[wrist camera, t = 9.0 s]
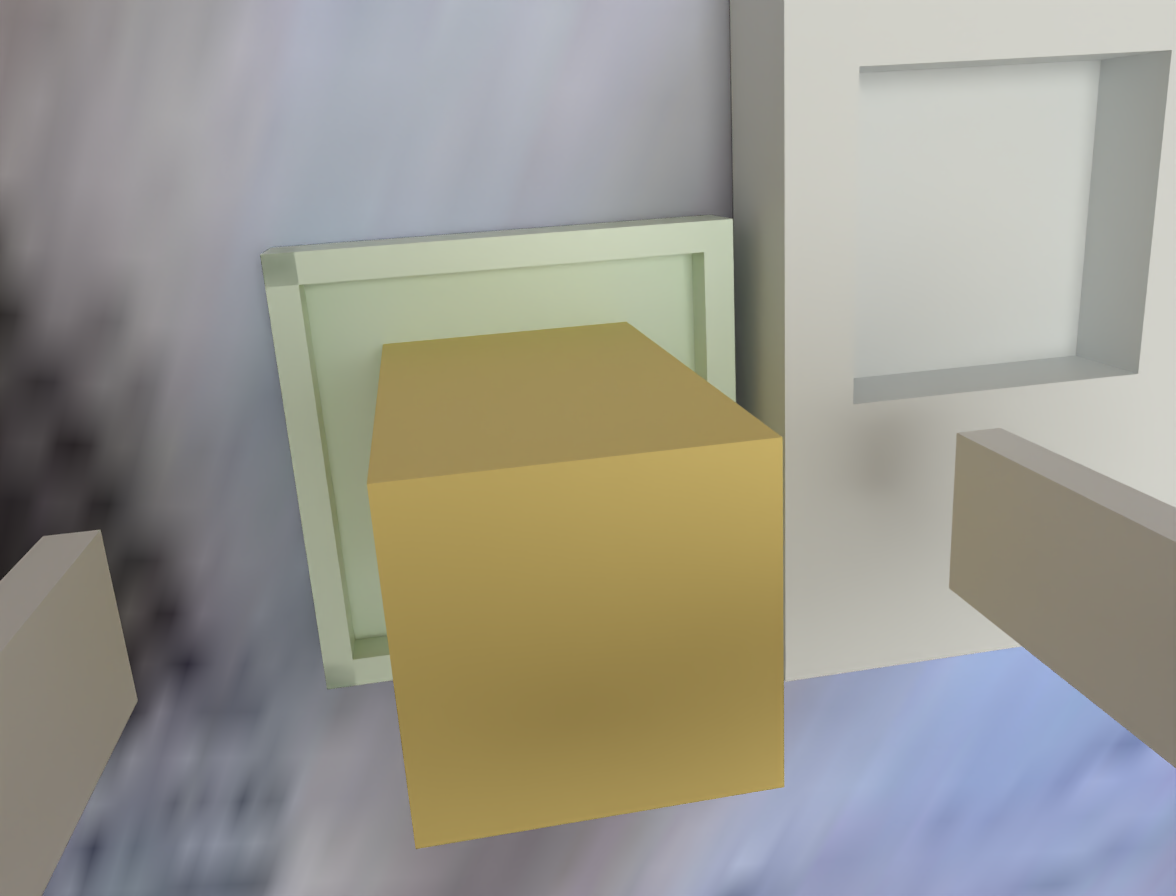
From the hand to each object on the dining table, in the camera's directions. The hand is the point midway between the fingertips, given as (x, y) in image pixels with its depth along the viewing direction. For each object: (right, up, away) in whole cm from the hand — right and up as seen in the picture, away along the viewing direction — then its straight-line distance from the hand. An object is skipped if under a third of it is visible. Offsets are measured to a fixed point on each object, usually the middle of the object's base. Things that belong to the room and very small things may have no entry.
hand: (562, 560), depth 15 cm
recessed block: (+8, +7, +7) cm, 12 cm away
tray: (-1, +2, +6) cm, 7 cm away
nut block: (-1, +2, +6) cm, 6 cm away
